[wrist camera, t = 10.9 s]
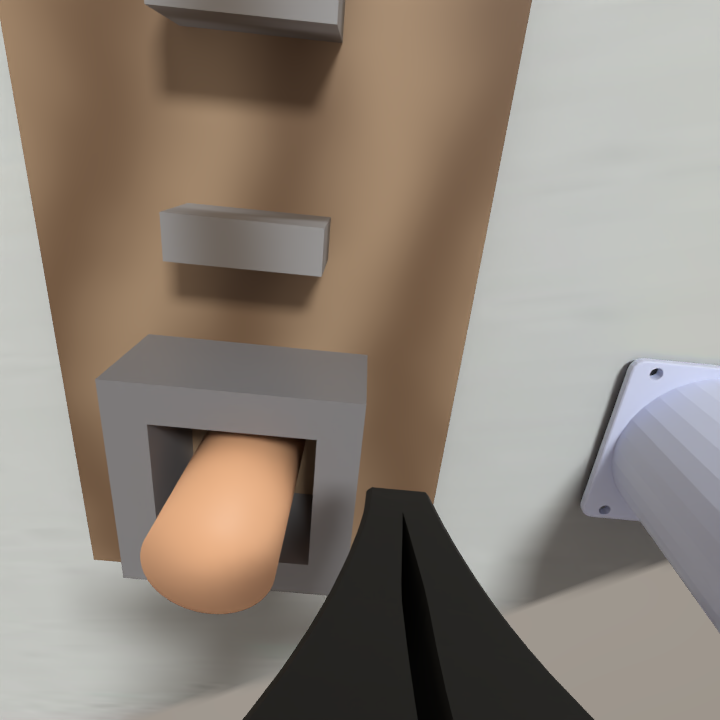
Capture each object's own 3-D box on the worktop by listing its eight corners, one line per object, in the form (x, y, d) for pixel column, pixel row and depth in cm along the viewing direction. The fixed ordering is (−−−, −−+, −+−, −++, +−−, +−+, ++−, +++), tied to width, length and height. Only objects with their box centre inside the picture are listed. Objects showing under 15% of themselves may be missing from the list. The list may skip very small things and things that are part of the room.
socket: (367, 354, 19) (366, 404, 15) (349, 523, 23) (344, 596, 19) (148, 334, 19) (94, 379, 15) (164, 507, 22) (123, 577, 19)
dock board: (536, -65, 15) (582, -124, 11) (415, 571, 25) (421, 634, 22) (-3, -124, 14) (-111, -203, 11) (104, 544, 25) (64, 603, 22)
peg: (307, 400, 20) (277, 520, 14) (303, 478, 22) (273, 619, 15) (210, 391, 20) (133, 507, 14) (213, 470, 22) (146, 607, 15)
